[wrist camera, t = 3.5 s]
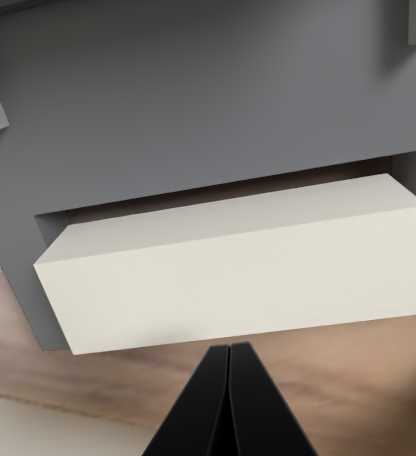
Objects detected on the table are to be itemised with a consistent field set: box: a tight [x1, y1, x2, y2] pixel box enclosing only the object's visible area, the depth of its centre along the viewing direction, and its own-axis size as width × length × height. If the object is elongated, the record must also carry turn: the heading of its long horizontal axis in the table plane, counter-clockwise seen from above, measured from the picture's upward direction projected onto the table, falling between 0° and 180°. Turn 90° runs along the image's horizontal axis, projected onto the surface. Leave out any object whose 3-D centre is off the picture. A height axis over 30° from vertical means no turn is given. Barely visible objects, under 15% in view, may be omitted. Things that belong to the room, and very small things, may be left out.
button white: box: [33, 173, 416, 355], centre depth 11 cm, size 3×10×2 cm, turn 101°
